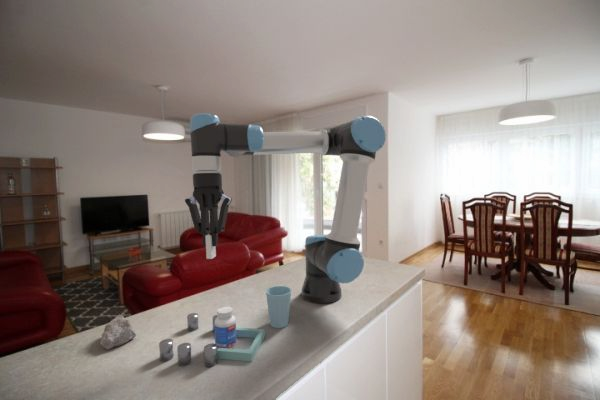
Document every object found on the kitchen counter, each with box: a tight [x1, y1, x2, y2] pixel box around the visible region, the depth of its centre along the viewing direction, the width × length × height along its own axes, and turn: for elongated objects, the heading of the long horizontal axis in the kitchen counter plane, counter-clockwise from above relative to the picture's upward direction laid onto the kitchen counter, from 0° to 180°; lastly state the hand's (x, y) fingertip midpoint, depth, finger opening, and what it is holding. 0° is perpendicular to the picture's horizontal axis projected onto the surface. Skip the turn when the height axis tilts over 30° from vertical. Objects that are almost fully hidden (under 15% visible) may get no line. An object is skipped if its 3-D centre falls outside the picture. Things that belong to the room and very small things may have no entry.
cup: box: [265, 285, 292, 329], centre depth 85 cm, size 8×8×10 cm
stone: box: [99, 314, 137, 350], centre depth 78 cm, size 8×10×6 cm
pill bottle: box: [214, 306, 237, 349], centre depth 74 cm, size 6×5×10 cm
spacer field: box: [158, 312, 218, 368], centre depth 75 cm, size 16×18×4 cm
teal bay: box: [217, 326, 266, 362], centre depth 74 cm, size 9×11×2 cm
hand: (211, 257), depth 78 cm, fingers closed
